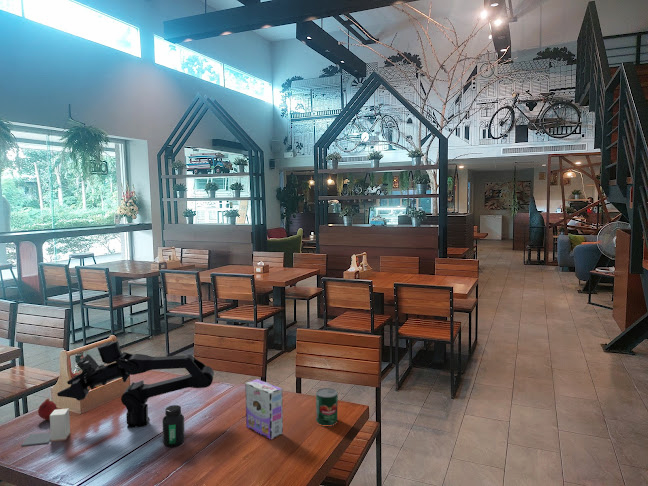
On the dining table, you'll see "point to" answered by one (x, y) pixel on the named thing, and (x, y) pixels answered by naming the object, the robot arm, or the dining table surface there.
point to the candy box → (264, 408)
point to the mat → (37, 439)
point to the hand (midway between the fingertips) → (62, 388)
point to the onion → (46, 409)
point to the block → (59, 424)
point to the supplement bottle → (173, 427)
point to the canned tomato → (326, 406)
